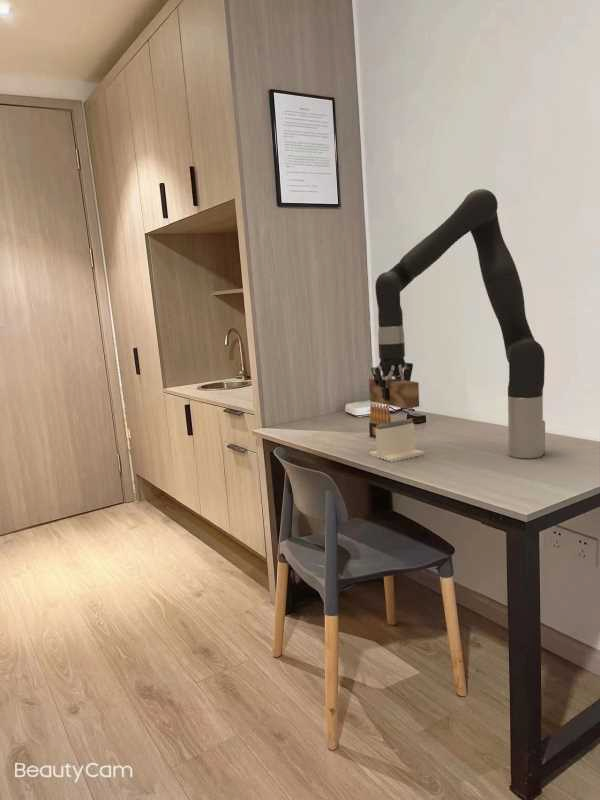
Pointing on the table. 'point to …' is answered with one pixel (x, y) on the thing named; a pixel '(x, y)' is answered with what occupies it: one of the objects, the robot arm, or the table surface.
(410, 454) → the ridge stand
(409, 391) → the walnut beam
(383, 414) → the ammunition clip
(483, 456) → the table surface
